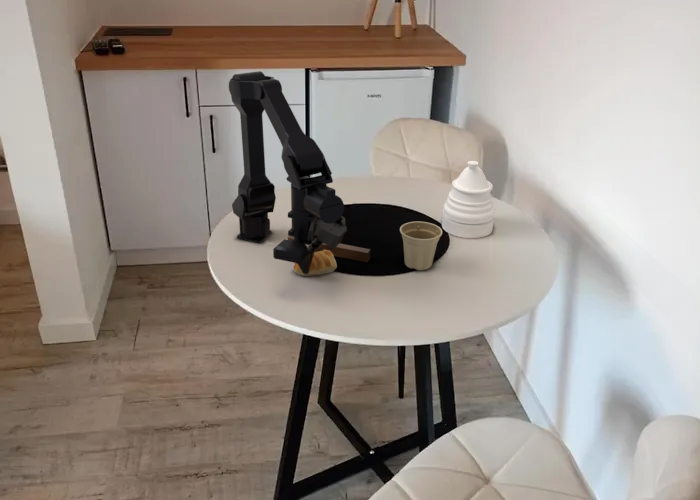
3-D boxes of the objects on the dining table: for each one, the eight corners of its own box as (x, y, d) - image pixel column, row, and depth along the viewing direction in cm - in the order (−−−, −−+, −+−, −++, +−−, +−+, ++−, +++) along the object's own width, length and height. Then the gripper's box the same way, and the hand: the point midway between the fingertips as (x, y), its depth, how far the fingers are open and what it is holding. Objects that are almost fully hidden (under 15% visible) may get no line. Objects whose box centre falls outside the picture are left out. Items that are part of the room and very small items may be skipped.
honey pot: (488, 241, 166) (497, 172, 158) (436, 233, 169) (442, 165, 161) (495, 220, 177) (504, 154, 168) (447, 213, 180) (453, 148, 172)
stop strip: (287, 246, 161) (287, 237, 160) (291, 243, 163) (291, 233, 162) (367, 262, 155) (367, 253, 154) (370, 258, 157) (370, 249, 156)
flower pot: (416, 250, 161) (418, 217, 157) (447, 264, 155) (450, 230, 151) (389, 263, 155) (391, 229, 151) (421, 278, 149) (423, 243, 145)
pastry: (302, 281, 147) (302, 266, 145) (287, 268, 152) (287, 253, 150) (339, 270, 151) (339, 255, 150) (324, 258, 156) (324, 243, 155)
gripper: (322, 230, 130) (322, 300, 137) (357, 197, 146) (355, 262, 152) (270, 220, 133) (273, 290, 140) (310, 189, 149) (310, 253, 156)
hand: (305, 273), depth 147 cm, fingers closed
